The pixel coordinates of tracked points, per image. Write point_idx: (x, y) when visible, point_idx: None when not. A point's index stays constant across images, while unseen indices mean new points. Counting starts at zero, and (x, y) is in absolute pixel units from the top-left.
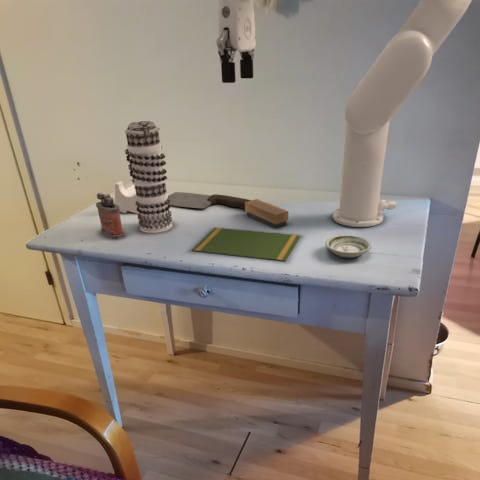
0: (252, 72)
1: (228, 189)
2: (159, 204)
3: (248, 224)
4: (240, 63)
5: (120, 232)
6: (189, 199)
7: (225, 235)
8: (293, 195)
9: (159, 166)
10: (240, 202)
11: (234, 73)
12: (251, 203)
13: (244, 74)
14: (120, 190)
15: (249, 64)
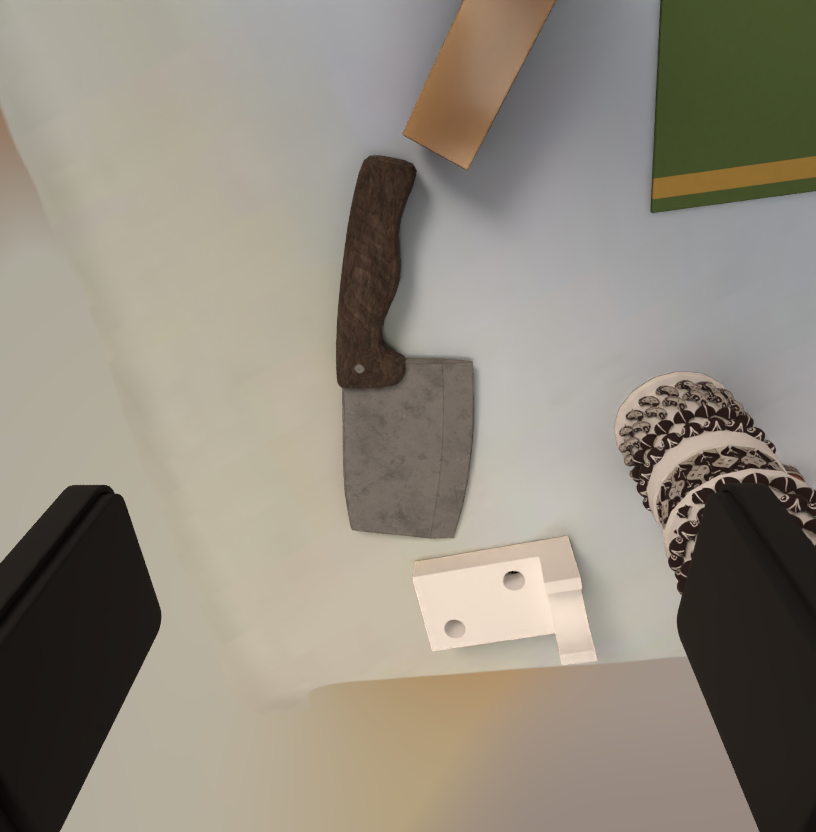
0: (61, 528)
1: (196, 387)
2: (750, 433)
3: (567, 89)
4: (74, 793)
5: (798, 478)
6: (408, 449)
7: (733, 120)
8: (106, 51)
9: None
10: (396, 227)
11: (814, 562)
12: (473, 128)
13: (129, 609)
14: (586, 632)
15: (25, 661)
